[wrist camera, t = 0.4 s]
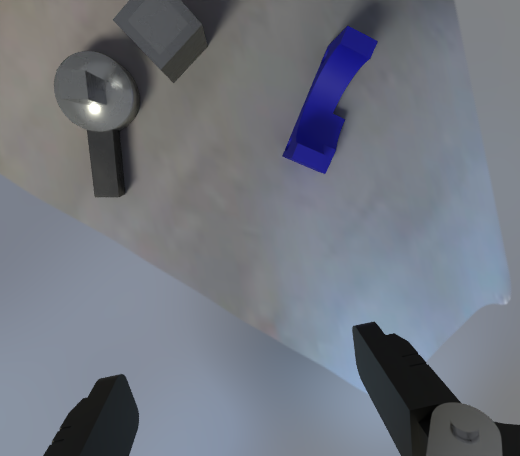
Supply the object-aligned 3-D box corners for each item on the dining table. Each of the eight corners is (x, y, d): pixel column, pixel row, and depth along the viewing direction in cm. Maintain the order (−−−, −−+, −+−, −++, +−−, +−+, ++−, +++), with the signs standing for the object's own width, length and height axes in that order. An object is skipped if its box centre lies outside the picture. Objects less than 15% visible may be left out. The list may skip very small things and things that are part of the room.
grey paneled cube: (135, 42, 31) (112, 19, 25) (169, 3, 30) (154, -30, 25) (173, 83, 32) (160, 69, 26) (207, 46, 32) (202, 24, 26)
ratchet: (63, 56, 31) (19, 34, 25) (136, 59, 31) (112, 38, 25) (80, 193, 34) (46, 205, 28) (146, 194, 35) (127, 205, 29)
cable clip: (317, 171, 36) (334, 176, 30) (282, 156, 35) (291, 158, 29) (364, 65, 33) (392, 49, 28) (327, 46, 33) (347, 25, 27)
